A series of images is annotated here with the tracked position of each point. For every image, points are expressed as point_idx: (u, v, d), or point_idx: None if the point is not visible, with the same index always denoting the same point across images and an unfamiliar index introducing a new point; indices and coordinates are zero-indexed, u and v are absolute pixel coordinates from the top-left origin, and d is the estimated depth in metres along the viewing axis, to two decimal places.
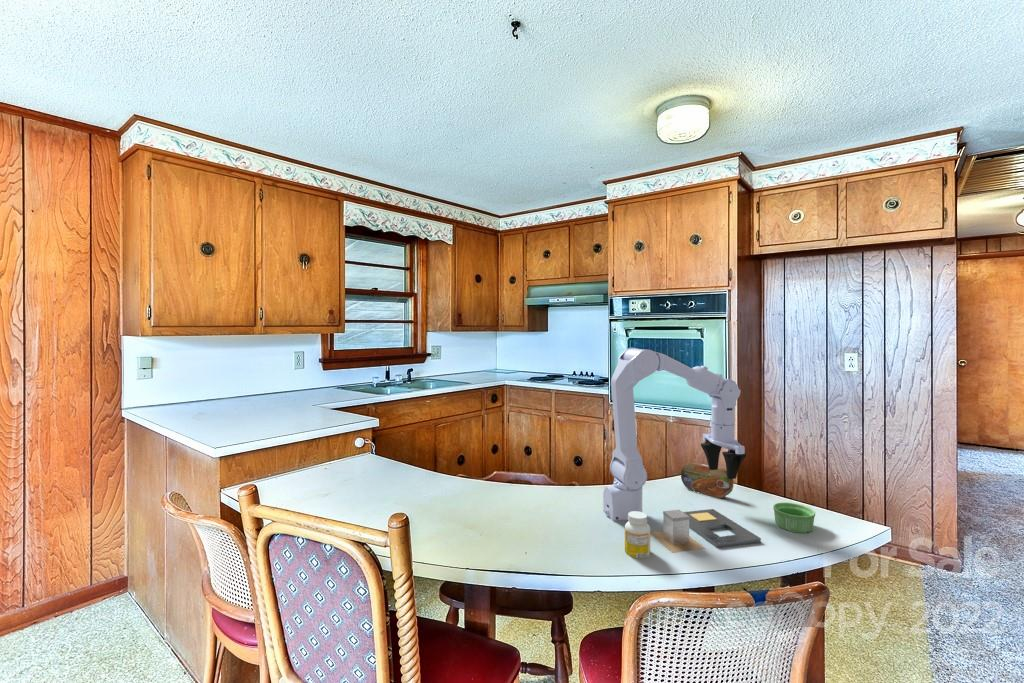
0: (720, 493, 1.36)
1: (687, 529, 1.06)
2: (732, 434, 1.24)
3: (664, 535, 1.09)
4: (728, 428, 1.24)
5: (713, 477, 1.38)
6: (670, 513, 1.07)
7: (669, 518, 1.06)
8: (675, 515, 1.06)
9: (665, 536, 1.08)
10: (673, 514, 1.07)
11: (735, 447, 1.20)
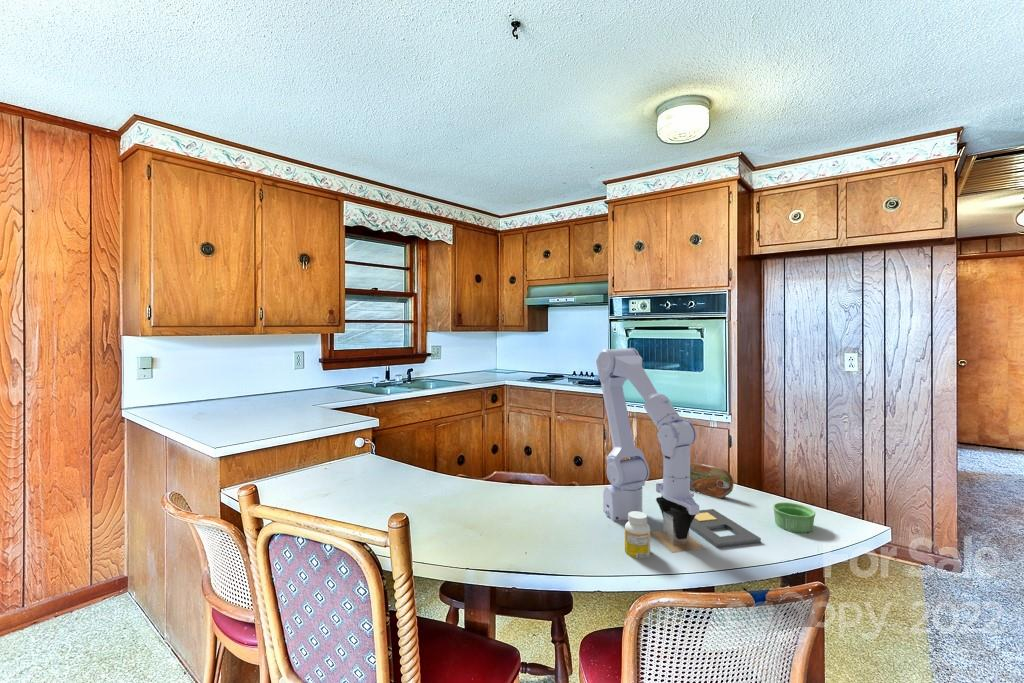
0: (720, 493, 1.36)
1: None
2: (686, 488, 1.05)
3: (664, 535, 1.09)
4: (681, 481, 1.04)
5: (713, 477, 1.38)
6: (670, 513, 1.07)
7: (669, 518, 1.06)
8: None
9: (665, 536, 1.08)
10: None
11: (688, 506, 1.01)
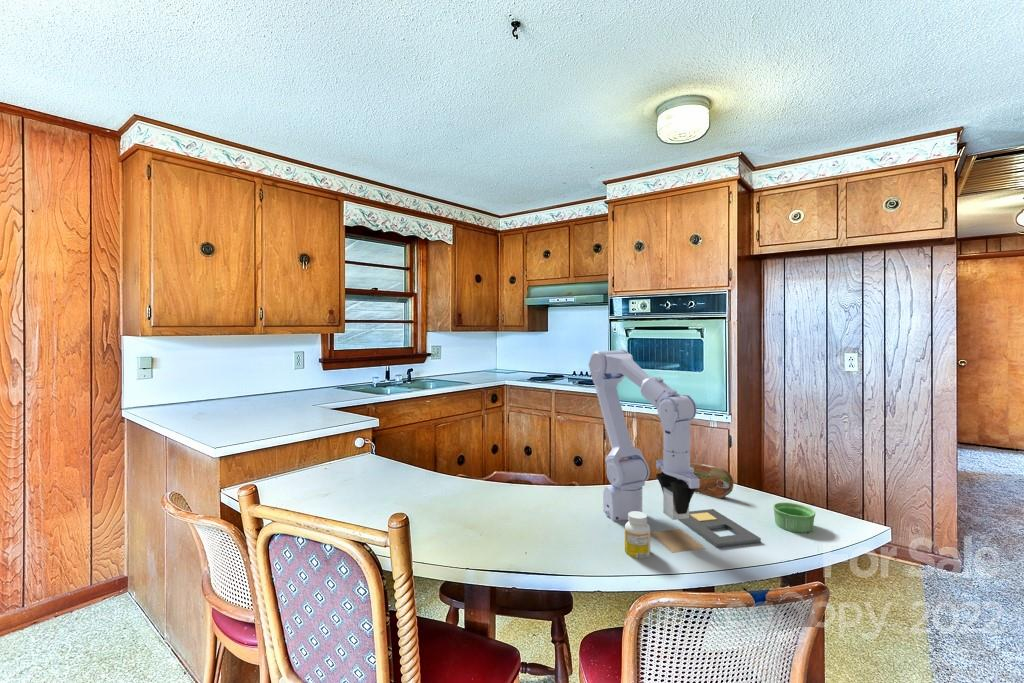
0: (720, 493, 1.36)
1: None
2: (686, 463, 1.04)
3: (664, 511, 1.08)
4: (681, 456, 1.04)
5: (713, 477, 1.38)
6: (670, 488, 1.07)
7: (669, 493, 1.06)
8: None
9: (665, 512, 1.08)
10: None
11: (688, 480, 1.00)
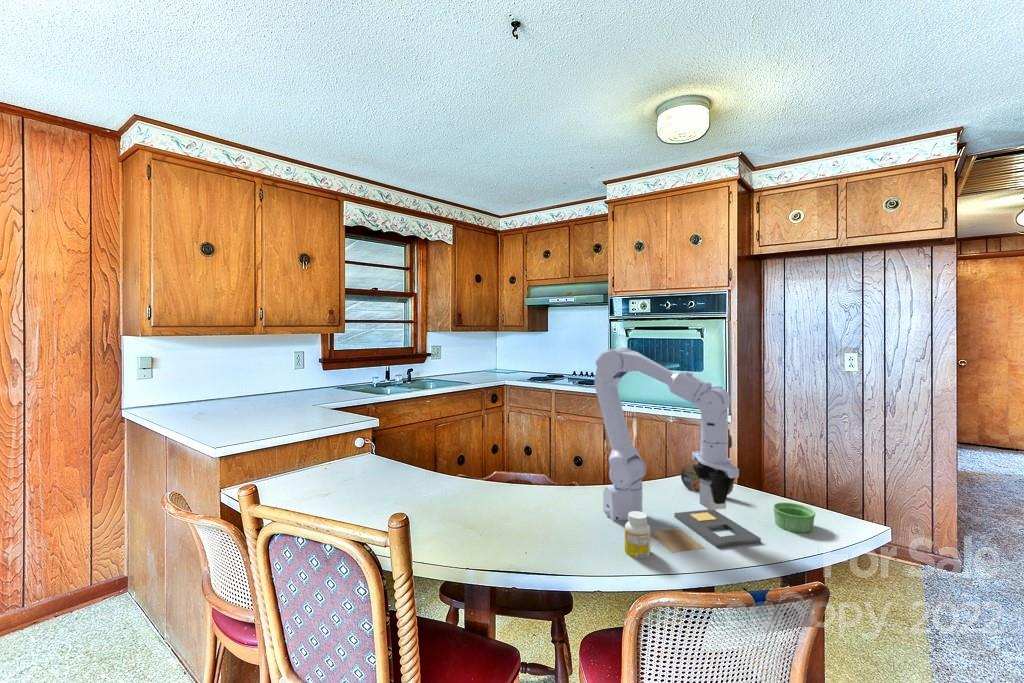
0: None
1: None
2: (725, 454, 1.06)
3: (700, 501, 1.10)
4: (720, 447, 1.06)
5: None
6: (707, 479, 1.09)
7: (706, 484, 1.08)
8: None
9: (702, 502, 1.10)
10: (710, 480, 1.08)
11: (728, 470, 1.02)
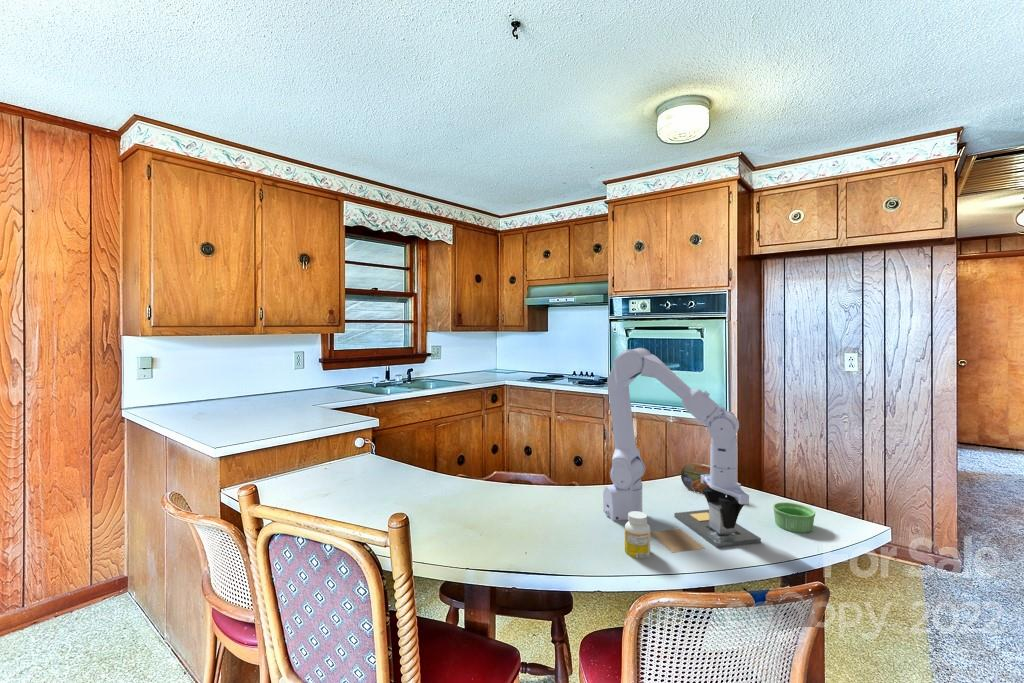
0: None
1: None
2: (734, 479, 1.07)
3: (710, 525, 1.11)
4: (730, 472, 1.07)
5: None
6: (716, 504, 1.10)
7: (716, 509, 1.09)
8: (721, 506, 1.09)
9: (711, 526, 1.11)
10: (719, 505, 1.09)
11: (738, 496, 1.03)
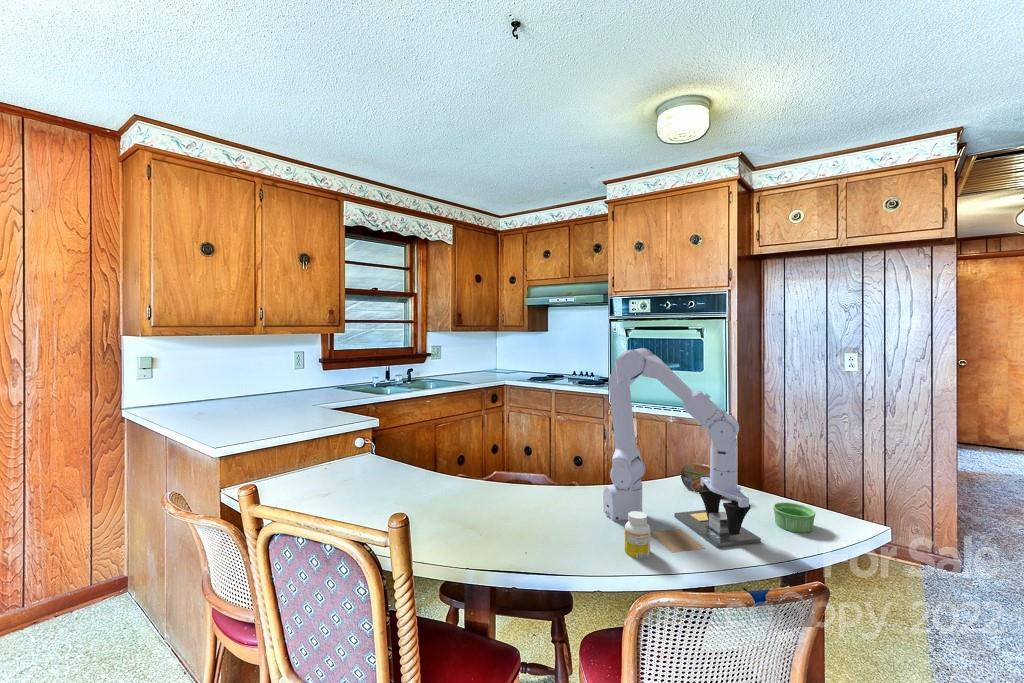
0: None
1: None
2: (734, 482, 1.07)
3: None
4: (730, 475, 1.07)
5: None
6: (716, 515, 1.10)
7: (715, 520, 1.09)
8: (721, 517, 1.09)
9: None
10: (719, 516, 1.09)
11: (738, 499, 1.03)
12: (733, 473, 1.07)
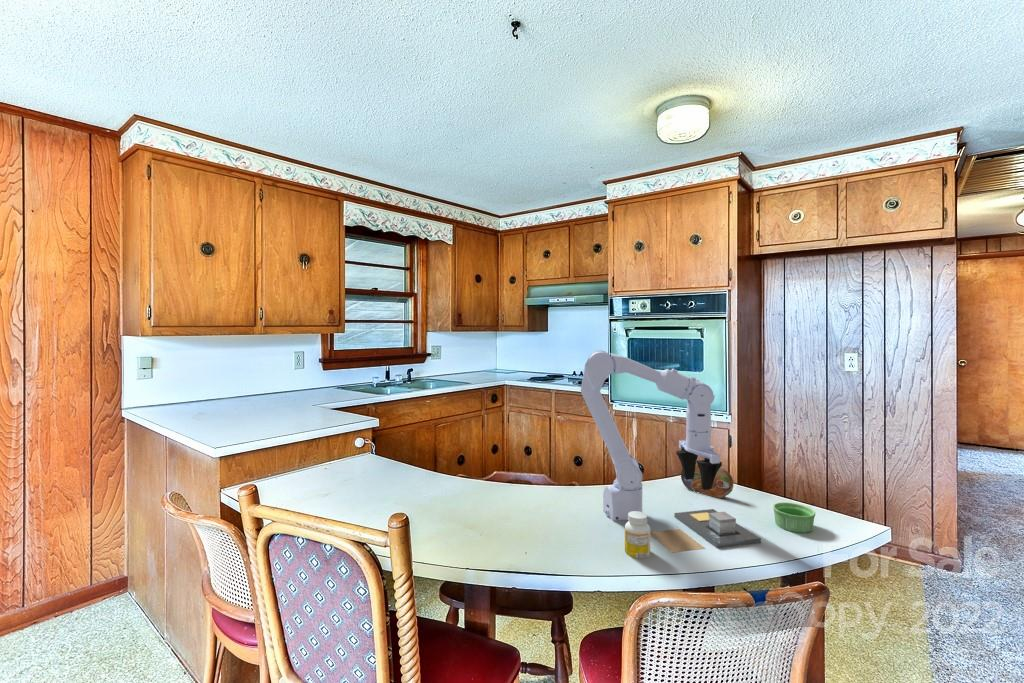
0: (720, 493, 1.36)
1: (733, 531, 1.08)
2: (708, 442, 1.16)
3: None
4: (703, 435, 1.16)
5: None
6: (716, 515, 1.10)
7: (715, 520, 1.09)
8: (721, 517, 1.09)
9: None
10: (719, 516, 1.09)
11: (709, 456, 1.12)
12: (706, 434, 1.16)
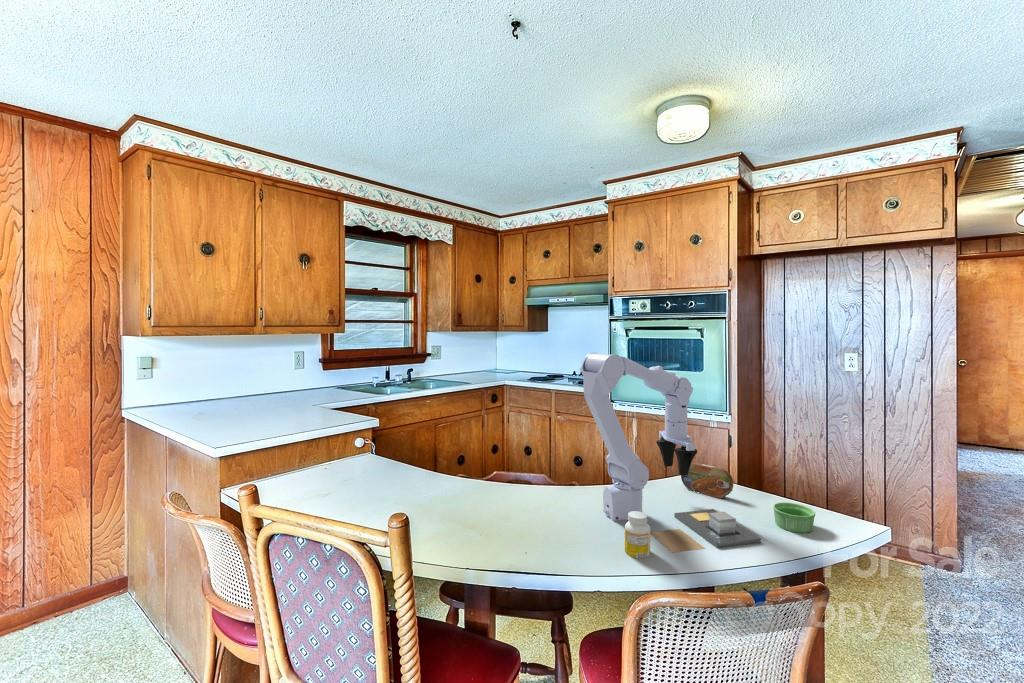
0: (720, 493, 1.36)
1: (733, 531, 1.08)
2: (684, 431, 1.26)
3: None
4: (680, 425, 1.26)
5: (713, 477, 1.38)
6: (716, 515, 1.10)
7: (715, 520, 1.09)
8: (721, 517, 1.09)
9: None
10: (719, 516, 1.09)
11: (686, 444, 1.22)
12: (683, 424, 1.26)
